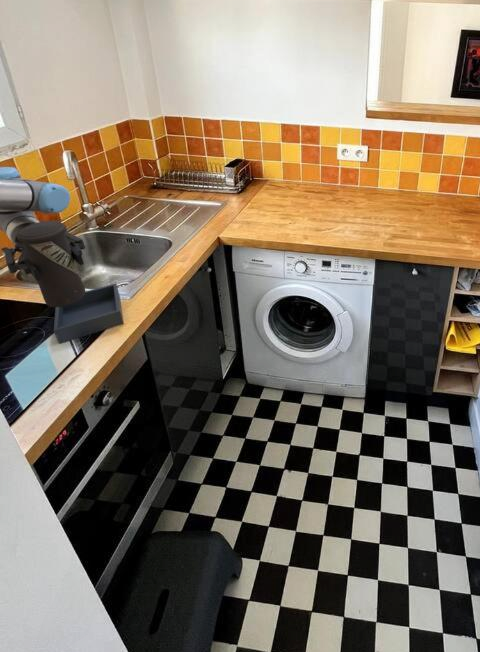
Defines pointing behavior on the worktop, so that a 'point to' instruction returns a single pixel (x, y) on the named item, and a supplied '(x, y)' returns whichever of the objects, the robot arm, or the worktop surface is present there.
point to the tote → (89, 314)
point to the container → (53, 262)
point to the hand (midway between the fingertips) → (59, 267)
